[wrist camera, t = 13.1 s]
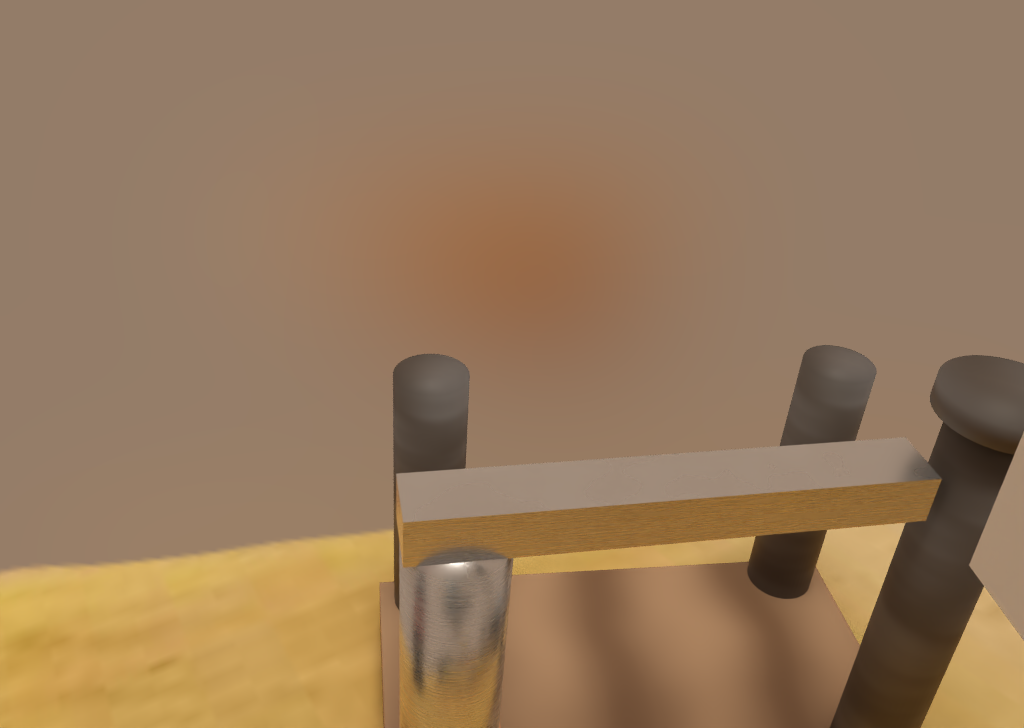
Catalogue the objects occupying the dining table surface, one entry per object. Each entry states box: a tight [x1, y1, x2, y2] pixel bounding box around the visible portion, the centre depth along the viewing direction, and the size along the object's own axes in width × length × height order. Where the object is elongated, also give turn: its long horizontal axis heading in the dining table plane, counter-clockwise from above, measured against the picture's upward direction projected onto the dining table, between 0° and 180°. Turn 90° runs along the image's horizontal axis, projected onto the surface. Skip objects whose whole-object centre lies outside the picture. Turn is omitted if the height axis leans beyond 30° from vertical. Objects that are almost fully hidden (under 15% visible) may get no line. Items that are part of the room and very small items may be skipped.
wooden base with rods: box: [380, 345, 1024, 728], centre depth 35 cm, size 20×13×19 cm, turn 98°
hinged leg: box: [396, 437, 942, 728], centre depth 31 cm, size 16×3×13 cm, turn 101°
